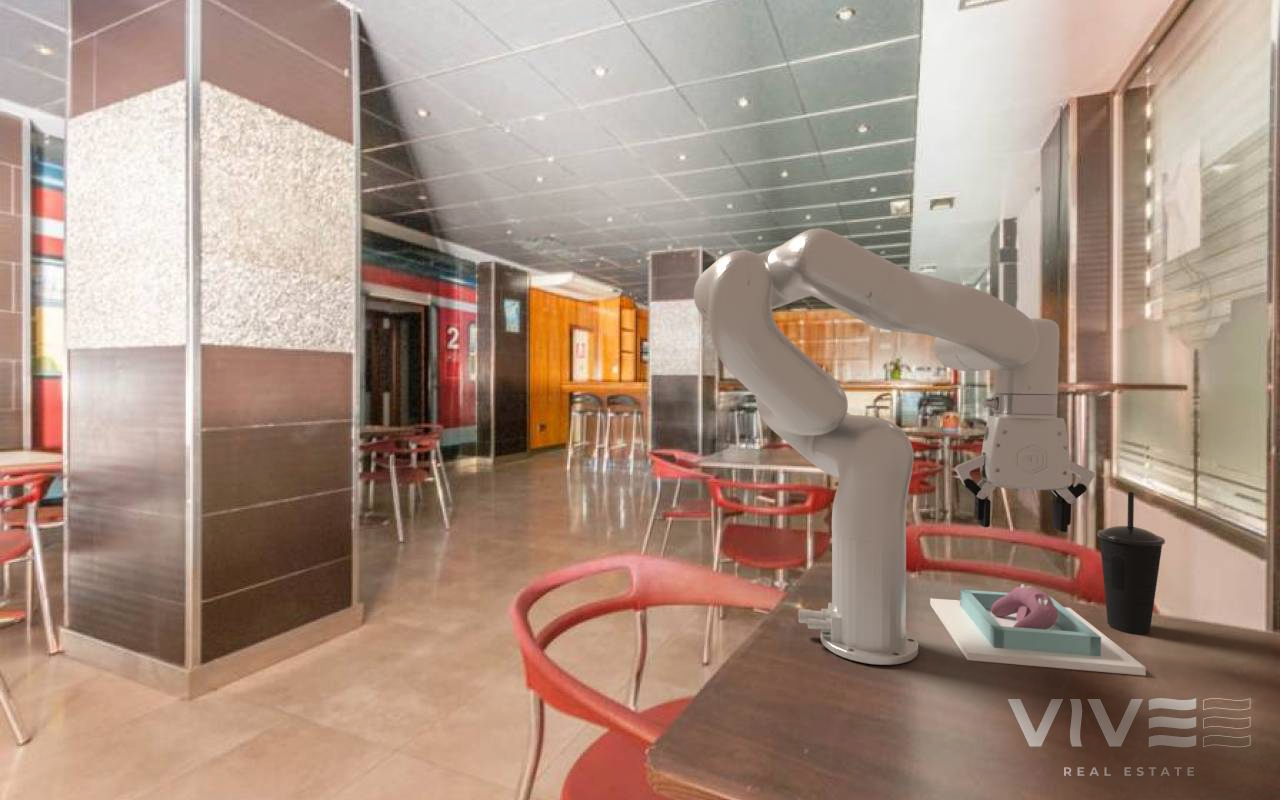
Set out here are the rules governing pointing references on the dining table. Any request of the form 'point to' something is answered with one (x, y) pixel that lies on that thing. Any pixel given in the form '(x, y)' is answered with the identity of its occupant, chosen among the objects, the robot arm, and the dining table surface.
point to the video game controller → (1027, 608)
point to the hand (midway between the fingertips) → (1021, 527)
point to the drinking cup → (1130, 573)
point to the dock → (1029, 637)
